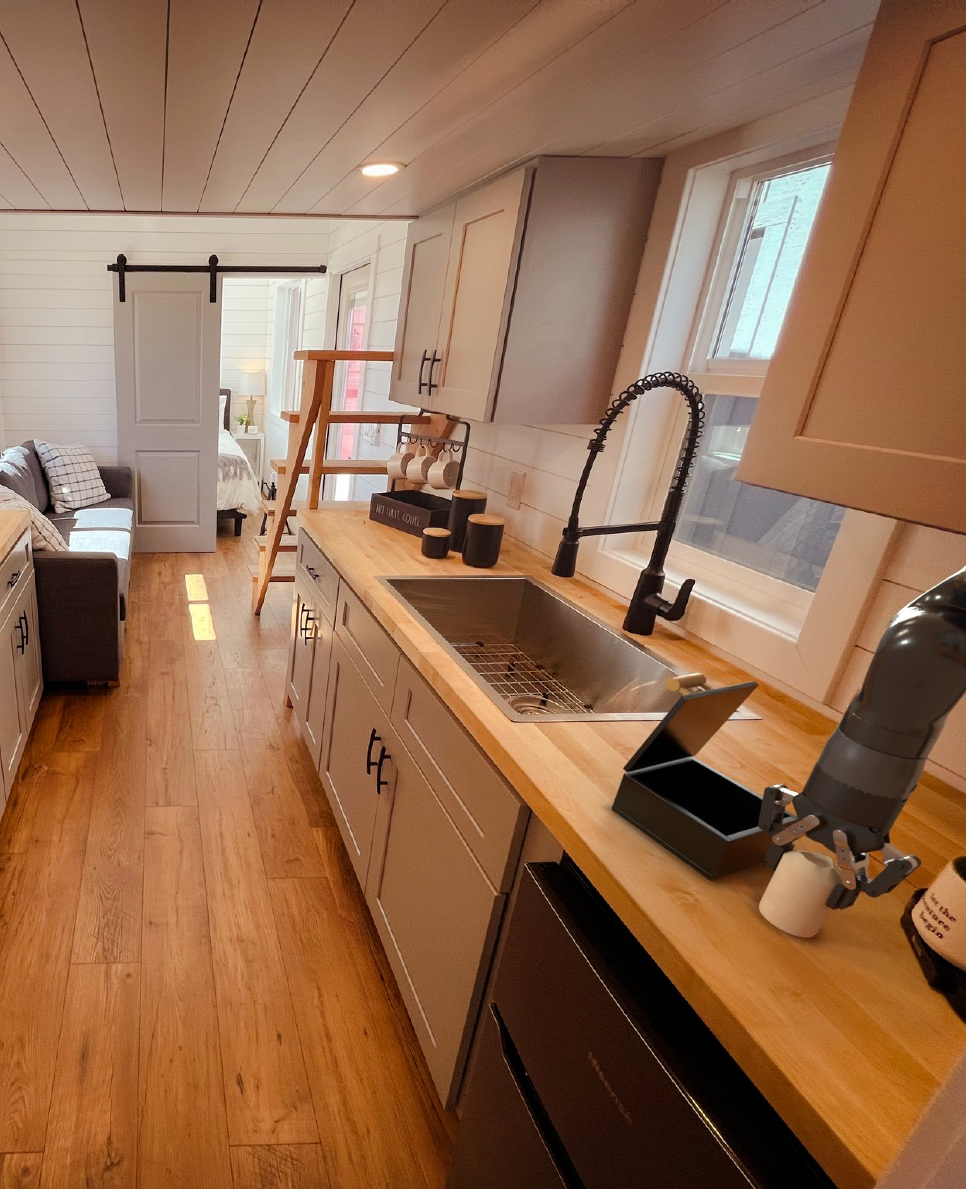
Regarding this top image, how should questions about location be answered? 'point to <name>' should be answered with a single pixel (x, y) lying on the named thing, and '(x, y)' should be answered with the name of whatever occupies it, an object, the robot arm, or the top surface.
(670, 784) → the bread bin
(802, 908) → the candle
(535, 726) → the top surface
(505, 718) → the top surface
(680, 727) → the bin lid
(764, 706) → the top surface
